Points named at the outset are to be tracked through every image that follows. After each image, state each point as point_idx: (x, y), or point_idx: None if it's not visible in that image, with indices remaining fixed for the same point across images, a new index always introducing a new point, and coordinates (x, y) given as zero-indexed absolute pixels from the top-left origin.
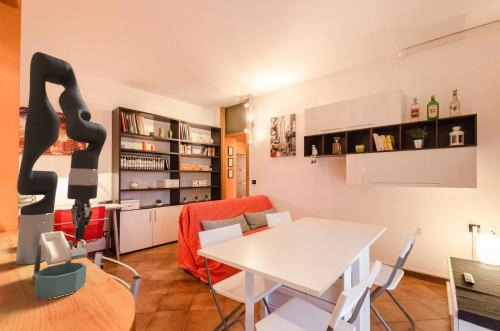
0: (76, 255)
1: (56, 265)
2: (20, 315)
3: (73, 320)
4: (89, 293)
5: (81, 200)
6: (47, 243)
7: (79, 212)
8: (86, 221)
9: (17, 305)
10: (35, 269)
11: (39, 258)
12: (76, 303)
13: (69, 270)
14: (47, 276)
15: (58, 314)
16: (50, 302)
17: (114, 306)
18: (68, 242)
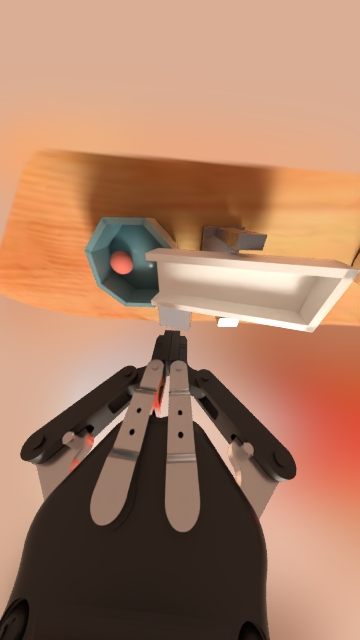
0: (158, 307)
1: None
2: (66, 181)
3: (19, 248)
4: None
5: (2, 627)
6: (283, 275)
7: (104, 444)
8: (123, 398)
9: (116, 181)
10: (220, 229)
11: (225, 240)
12: (75, 264)
13: None
14: (98, 235)
15: (45, 236)
16: None
17: (44, 295)
18: (224, 317)
